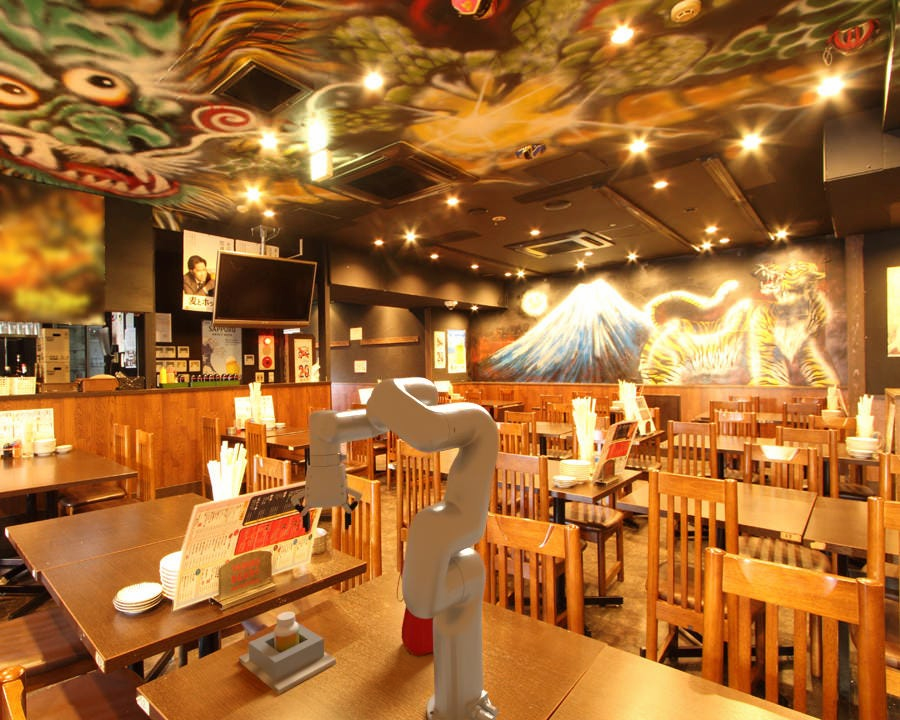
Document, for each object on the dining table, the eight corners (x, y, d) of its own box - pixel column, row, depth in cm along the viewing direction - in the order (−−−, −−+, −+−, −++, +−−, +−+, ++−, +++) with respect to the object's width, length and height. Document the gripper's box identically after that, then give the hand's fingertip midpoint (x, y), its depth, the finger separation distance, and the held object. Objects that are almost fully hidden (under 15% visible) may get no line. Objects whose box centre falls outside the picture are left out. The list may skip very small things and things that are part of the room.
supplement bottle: (302, 659, 115) (301, 616, 115) (278, 668, 112) (277, 624, 112) (295, 648, 120) (294, 607, 120) (272, 656, 117) (270, 614, 117)
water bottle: (391, 643, 123) (388, 540, 123) (432, 631, 128) (430, 532, 128) (406, 663, 115) (403, 553, 115) (449, 649, 120) (446, 543, 120)
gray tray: (335, 663, 115) (335, 658, 115) (279, 694, 105) (279, 689, 105) (293, 635, 127) (293, 631, 127) (238, 661, 117) (238, 657, 117)
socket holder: (324, 656, 116) (323, 638, 116) (276, 681, 108) (275, 662, 108) (296, 637, 125) (295, 621, 125) (249, 660, 116) (248, 642, 116)
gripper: (362, 455, 130) (364, 522, 130) (293, 459, 129) (295, 526, 128) (359, 461, 123) (361, 532, 123) (286, 464, 121) (288, 536, 121)
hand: (327, 529), depth 126 cm, fingers open, 9 cm apart
